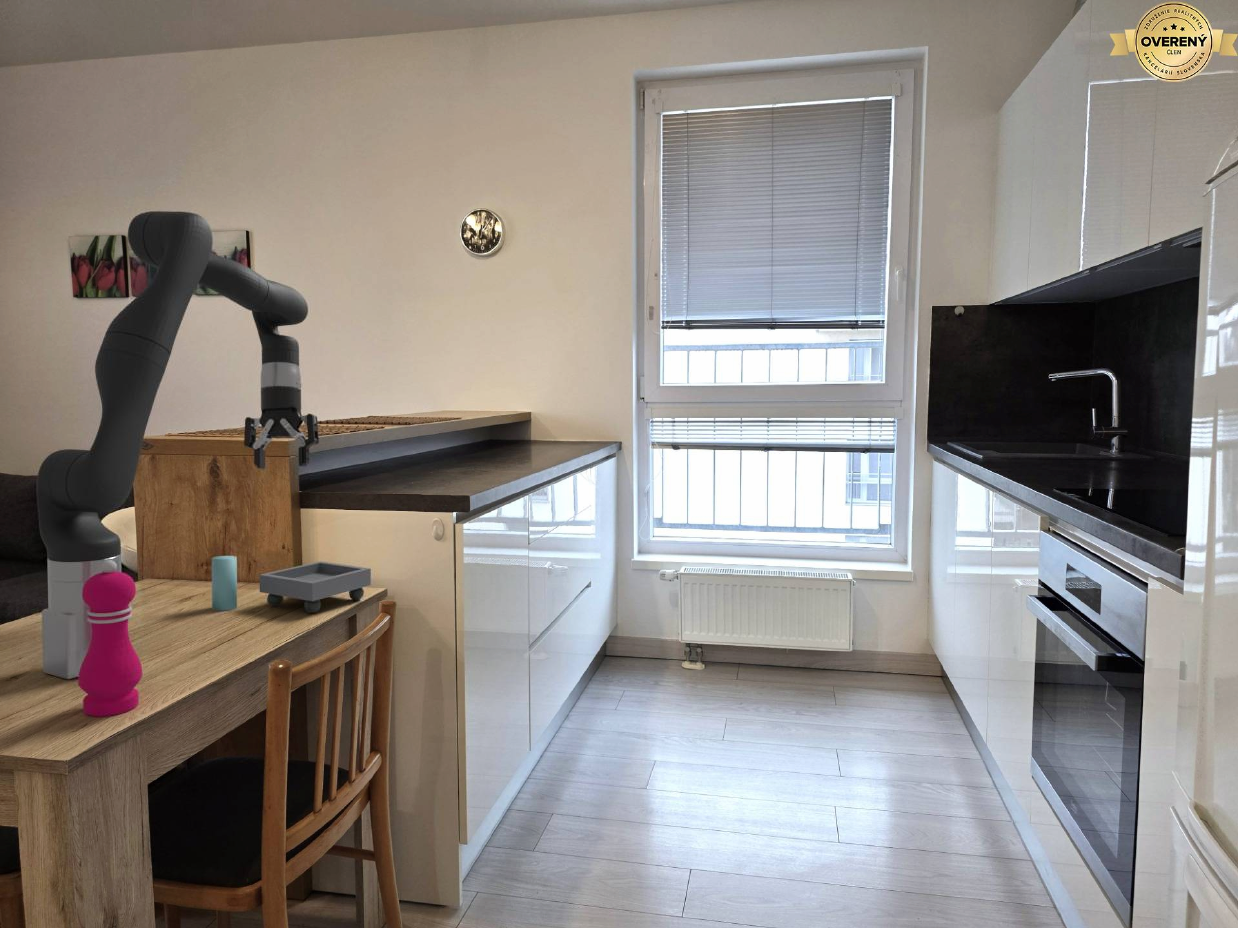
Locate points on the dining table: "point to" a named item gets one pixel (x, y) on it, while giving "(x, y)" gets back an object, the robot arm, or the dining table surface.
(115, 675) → the pepper mill
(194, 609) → the dining table surface
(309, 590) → the grey square tray
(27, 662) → the dining table surface
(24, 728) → the dining table surface
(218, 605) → the teal cylinder
